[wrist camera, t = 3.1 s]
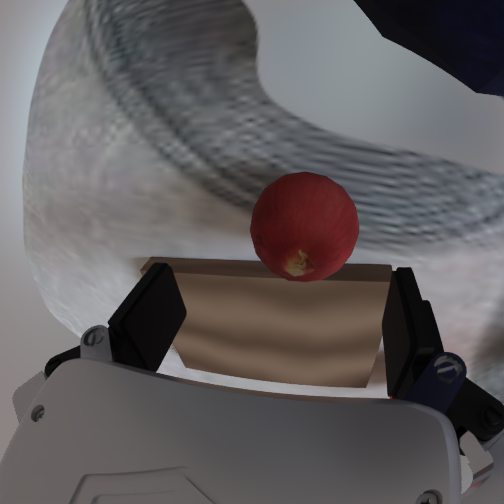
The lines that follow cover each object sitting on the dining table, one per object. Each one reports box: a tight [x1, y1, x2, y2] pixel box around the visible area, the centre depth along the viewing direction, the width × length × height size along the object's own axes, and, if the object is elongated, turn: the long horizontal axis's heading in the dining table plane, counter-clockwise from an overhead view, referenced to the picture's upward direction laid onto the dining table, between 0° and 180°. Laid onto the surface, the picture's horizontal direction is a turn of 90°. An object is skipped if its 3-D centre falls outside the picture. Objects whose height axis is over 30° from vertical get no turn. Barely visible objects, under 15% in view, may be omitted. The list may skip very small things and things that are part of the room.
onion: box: [250, 172, 359, 282], centre depth 15 cm, size 6×6×8 cm
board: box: [140, 257, 393, 388], centre depth 25 cm, size 14×20×2 cm
